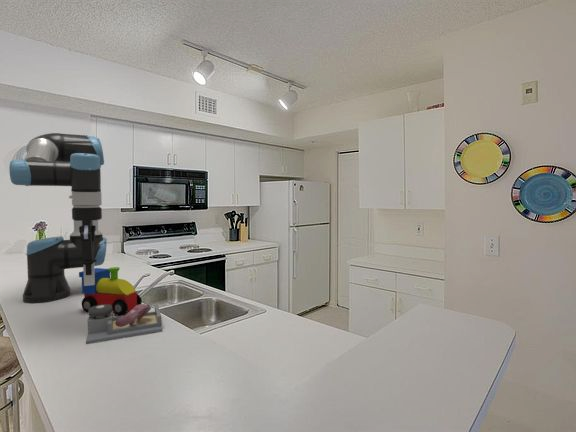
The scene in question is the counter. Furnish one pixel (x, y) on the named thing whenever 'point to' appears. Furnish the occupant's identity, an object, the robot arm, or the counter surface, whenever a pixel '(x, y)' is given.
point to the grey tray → (108, 330)
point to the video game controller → (133, 315)
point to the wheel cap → (100, 310)
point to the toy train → (109, 291)
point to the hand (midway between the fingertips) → (89, 284)
